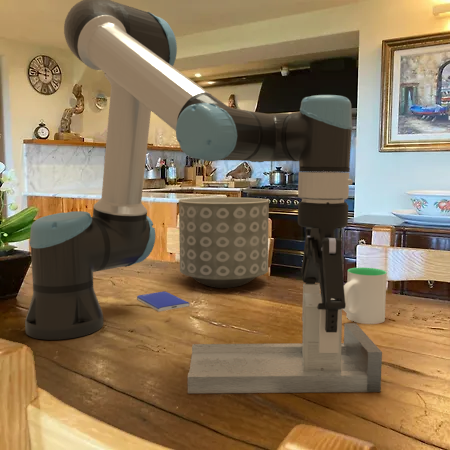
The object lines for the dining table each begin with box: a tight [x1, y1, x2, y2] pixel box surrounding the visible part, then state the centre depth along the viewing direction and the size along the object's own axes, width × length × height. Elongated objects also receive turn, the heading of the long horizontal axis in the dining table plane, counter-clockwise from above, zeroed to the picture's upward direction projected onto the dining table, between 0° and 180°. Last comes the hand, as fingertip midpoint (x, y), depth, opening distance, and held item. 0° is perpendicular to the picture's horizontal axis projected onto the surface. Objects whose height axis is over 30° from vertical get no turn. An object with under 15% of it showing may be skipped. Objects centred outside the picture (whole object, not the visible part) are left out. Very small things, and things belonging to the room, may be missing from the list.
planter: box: [178, 196, 270, 289], centre depth 135 cm, size 25×25×24 cm
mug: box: [342, 267, 387, 325], centre depth 102 cm, size 12×8×10 cm
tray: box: [187, 322, 383, 394], centre depth 75 cm, size 28×13×6 cm, turn 91°
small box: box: [302, 293, 343, 372], centre depth 75 cm, size 8×6×10 cm
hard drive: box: [136, 290, 190, 312], centre depth 116 cm, size 2×8×12 cm
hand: (318, 335), depth 75 cm, fingers open, 13 cm apart
